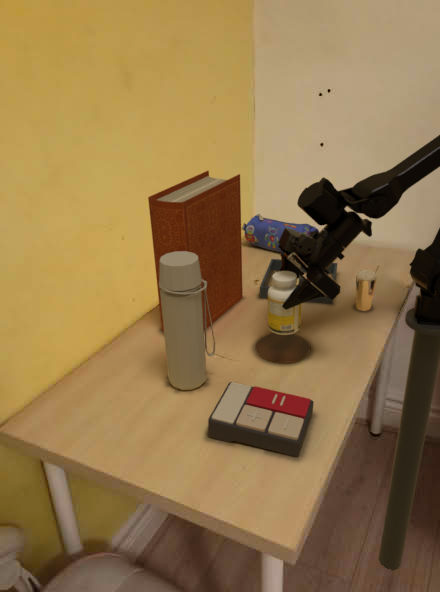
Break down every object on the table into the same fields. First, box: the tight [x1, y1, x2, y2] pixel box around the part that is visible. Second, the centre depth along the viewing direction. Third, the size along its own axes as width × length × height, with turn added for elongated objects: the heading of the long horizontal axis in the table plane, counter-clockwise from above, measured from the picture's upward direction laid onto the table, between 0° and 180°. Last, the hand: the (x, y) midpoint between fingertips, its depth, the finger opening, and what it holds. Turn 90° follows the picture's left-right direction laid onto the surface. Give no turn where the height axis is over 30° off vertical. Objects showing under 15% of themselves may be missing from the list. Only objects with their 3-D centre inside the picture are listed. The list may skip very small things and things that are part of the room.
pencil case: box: [241, 213, 320, 254], centre depth 154 cm, size 22×9×10 cm, turn 53°
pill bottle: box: [267, 270, 302, 335], centre depth 105 cm, size 6×6×12 cm
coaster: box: [255, 333, 311, 365], centre depth 110 cm, size 11×11×1 cm
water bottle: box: [159, 251, 216, 391], centre depth 96 cm, size 9×8×25 cm
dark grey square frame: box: [259, 258, 338, 305], centre depth 135 cm, size 17×17×3 cm
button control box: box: [207, 381, 315, 458], centre depth 89 cm, size 11×4×15 cm
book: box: [147, 170, 243, 333], centre depth 117 cm, size 23×8×30 cm, turn 149°
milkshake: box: [355, 265, 380, 312], centre depth 122 cm, size 4×5×10 cm
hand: (277, 300), depth 104 cm, fingers closed on pill bottle, 6 cm apart
